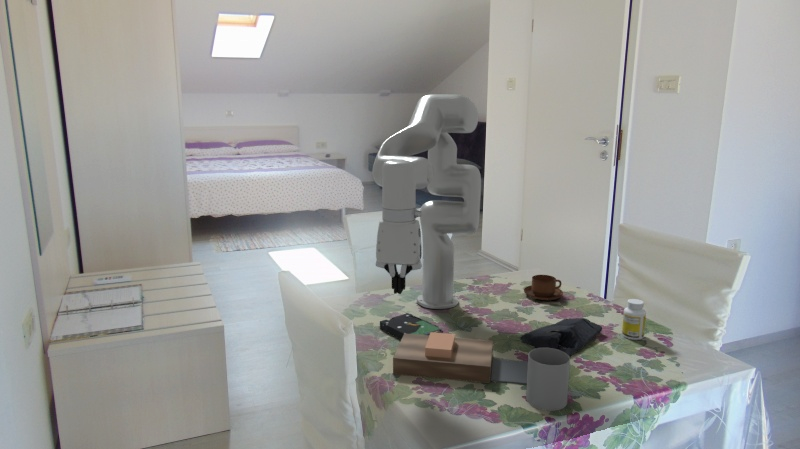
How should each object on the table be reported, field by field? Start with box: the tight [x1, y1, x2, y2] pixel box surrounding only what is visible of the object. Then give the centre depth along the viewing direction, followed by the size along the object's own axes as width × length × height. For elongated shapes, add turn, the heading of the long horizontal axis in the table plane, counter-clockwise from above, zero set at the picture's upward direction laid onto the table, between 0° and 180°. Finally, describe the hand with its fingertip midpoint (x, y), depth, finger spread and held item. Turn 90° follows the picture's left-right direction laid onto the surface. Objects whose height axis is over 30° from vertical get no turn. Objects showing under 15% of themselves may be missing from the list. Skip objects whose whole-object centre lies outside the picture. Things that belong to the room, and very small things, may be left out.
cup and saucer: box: [523, 274, 564, 301], centre depth 184 cm, size 12×12×6 cm
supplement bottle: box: [621, 298, 647, 341], centre depth 154 cm, size 5×5×10 cm
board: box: [392, 333, 494, 384], centre depth 138 cm, size 14×22×4 cm, turn 79°
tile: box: [425, 332, 456, 358], centre depth 138 cm, size 9×6×2 cm, turn 169°
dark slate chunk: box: [519, 317, 603, 357], centre depth 153 cm, size 15×22×5 cm
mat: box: [490, 357, 528, 385], centre depth 135 cm, size 11×12×1 cm
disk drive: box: [379, 312, 444, 340], centre depth 157 cm, size 10×3×15 cm
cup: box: [525, 348, 571, 412], centre depth 122 cm, size 8×8×10 cm
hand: (398, 291), depth 137 cm, fingers closed
